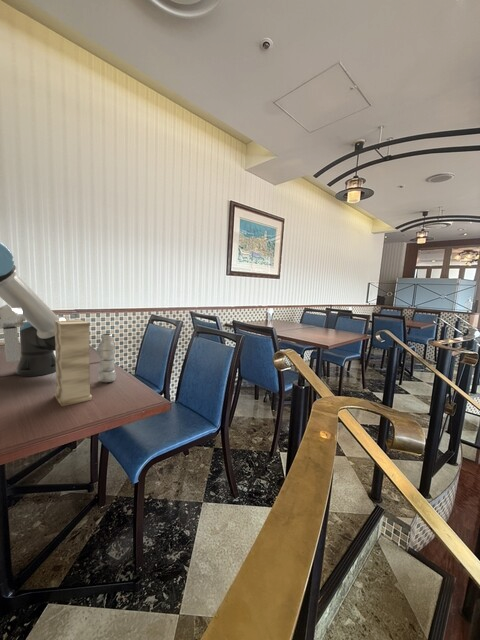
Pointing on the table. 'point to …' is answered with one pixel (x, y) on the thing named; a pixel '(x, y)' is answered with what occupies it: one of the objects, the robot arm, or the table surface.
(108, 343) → the plastic bottle
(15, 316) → the grey round-headed handle
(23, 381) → the table surface
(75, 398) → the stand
